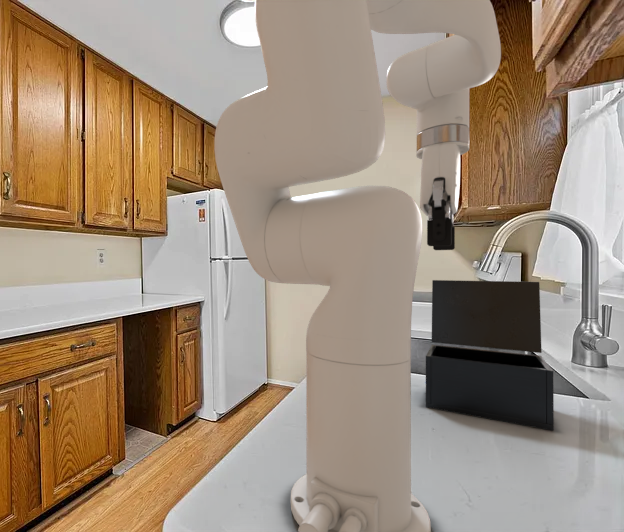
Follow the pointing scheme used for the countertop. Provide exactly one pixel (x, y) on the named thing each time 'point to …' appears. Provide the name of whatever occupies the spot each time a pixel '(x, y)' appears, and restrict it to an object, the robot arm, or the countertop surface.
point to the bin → (491, 385)
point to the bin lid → (487, 314)
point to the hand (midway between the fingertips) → (441, 248)
